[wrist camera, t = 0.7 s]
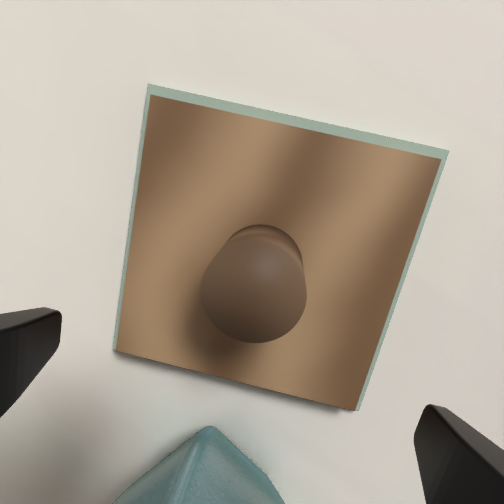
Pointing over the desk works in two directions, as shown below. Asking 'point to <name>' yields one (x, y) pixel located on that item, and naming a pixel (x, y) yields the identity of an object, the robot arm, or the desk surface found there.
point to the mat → (301, 124)
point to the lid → (267, 249)
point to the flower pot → (203, 476)
